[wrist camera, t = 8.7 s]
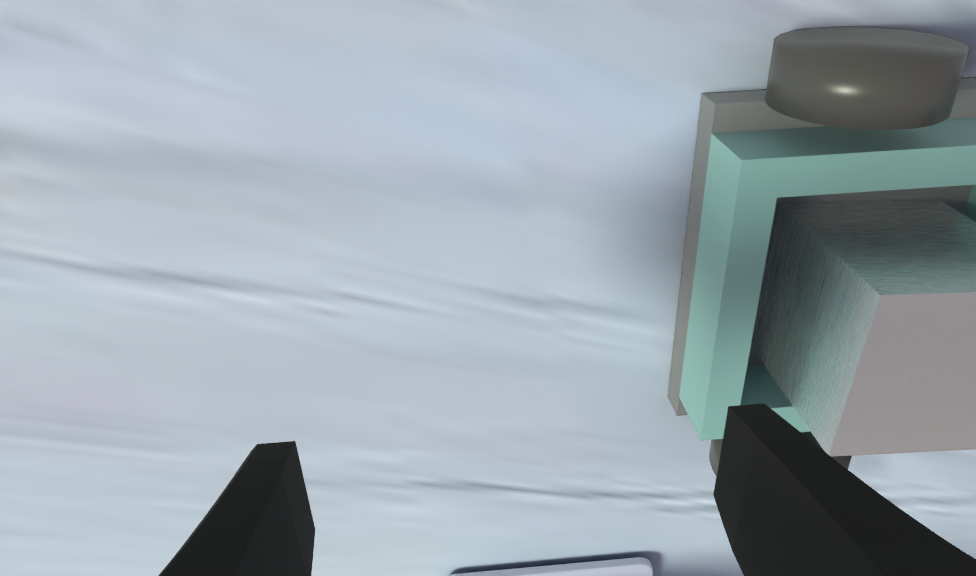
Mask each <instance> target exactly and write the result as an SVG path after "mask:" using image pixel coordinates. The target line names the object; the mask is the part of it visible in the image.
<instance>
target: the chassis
mask: <svg viewBox="0 0 976 576" xmlns="http://www.w3.org/2000/svg"><path fill="white" fill-rule="evenodd" d="M968 52H969V48H968V46H967V45H965V44H964V43H962V42H960V41H957V40H955V39H952V38H948V37H944V36H940V35H935V34H930V33H925V32H918V31H910V30H902V29H891V28H876V27H822V28H810V29H802V30H795V31H790V32H786V33H783V34H781V35H779V36H777V37H776V38H775V39H774V44H773V51H772V57H771V63H770V70H769V76H768V82H767V89H766V90H753V91H736V92H719V93H702V94H701V103H700V112H699V121H698V130H697V139H696V148H695V157H694V166H693V175H692V184H691V192H690V201H689V210H688V219H687V228H686V237H685V246H684V255H683V264H682V273H681V282H680V291H679V300H678V309H677V318H676V326H675V335H674V344H673V353H672V362H671V371H670V380H669V389H668V398H669V400H670V402H671V404H672V406H673V408H674V411H675V413H676V415H677V416H681V415H688V416H689V418H690V420H691V422H692V424H693V426H694V428H695V430H696V432H697V434H698V436H699V438H700V440H711V446H710V453H709V457H710V463H711V466H712V469H713V471H714V473H715V475H716V476H717V471H718V465H719V459H720V453H721V447H722V441H723V435H724V429H725V423H726V417H727V411H728V406H738V405H750V404H762V403H764V404H765V405H767V406H768V407H769V408H771V409H772V410H773V411H775V412H776V413H777V414H778V415H780V416H781V417H782V418H783V419H785V420H786V421H787V422H788V423H790V424H791V425H792V426H793V427H795V428H796V429H797V430H798V431H800V432H801V433H802V434H803V435H805V436H806V437H807V438H808V439H809V440H811V441H812V442H813V443H814V444H816V445H817V446H818V447H819V448H821V449H822V450H823V448H822V447H821V446H820V444H819V443H818V441H817V440H816V438H815V437H814V436H813V434H812V433H811V431H810V430H809V428H808V427H807V426H806V424H805V423H804V421H803V420H802V418H801V417H800V416H799V414H798V413H797V411H796V410H795V408H794V407H793V406H792V404H791V403H790V401H789V400H788V398H787V397H786V396H785V394H784V393H783V391H782V390H781V388H780V387H779V386H778V384H777V383H776V381H775V380H774V378H773V377H772V376H771V374H770V373H769V371H768V370H767V368H766V367H765V366H764V364H763V363H762V361H761V360H760V358H759V357H758V356H757V354H756V353H755V351H754V350H753V348H752V347H751V342H752V336H753V330H754V325H755V319H756V313H757V308H758V302H759V296H760V291H761V285H762V279H763V274H764V268H765V263H766V257H767V251H768V246H769V241H770V237H771V232H772V228H773V223H774V219H775V215H776V210H777V206H778V202H796V201H838V200H881V199H923V198H938V199H939V200H941V201H942V202H944V203H946V204H947V205H949V206H950V207H952V208H954V209H955V210H957V211H958V212H960V213H962V214H963V215H965V216H966V217H968V218H970V219H971V220H973V221H974V222H976V78H961V76H962V73H963V70H964V66H965V63H966V59H967V56H968ZM823 451H824V450H823ZM824 452H825V451H824ZM831 457H832V458H833V459H834V460H836V461H837V462H838V463H840V464H841V465H842V466H843V467H845V468H846V469H847V470H848V467H849V464H850V460H851V457H852V455H851V456H831Z"/></svg>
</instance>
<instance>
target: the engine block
mask: <svg viewBox="0 0 976 576" xmlns="http://www.w3.org/2000/svg"><path fill="white" fill-rule="evenodd" d="M751 347H752V348H753V350H754V351H755V353H756V354H757V356H758V357H759V358H760V360H761V361H762V363H763V364H764V366H765V367H766V368H767V370H768V371H769V373H770V374H771V376H772V377H773V378H774V380H775V381H776V383H777V384H778V386H779V387H780V388H781V390H782V391H783V393H784V394H785V396H786V397H787V398H788V400H789V401H790V403H791V404H792V406H793V407H794V408H795V410H796V411H797V413H798V414H799V416H800V417H801V418H802V420H803V421H804V423H805V424H806V426H807V427H808V428H809V430H810V431H811V433H812V434H813V436H814V437H815V438H816V440H817V441H818V443H819V444H820V446H821V447H822V448H823V450H824V451H825V452H826V453H827V454H828V455H829V456H851V455H871V454H891V453H911V452H930V451H950V450H970V449H976V222H974V221H973V220H971V219H970V218H968V217H966V216H965V215H963V214H962V213H960V212H958V211H957V210H955V209H954V208H952V207H950V206H949V205H947V204H946V203H944V202H942V201H941V200H939V199H938V198H923V199H881V200H838V201H796V202H778V206H777V210H776V215H775V219H774V223H773V228H772V232H771V237H770V241H769V246H768V251H767V257H766V263H765V268H764V274H763V279H762V285H761V291H760V296H759V302H758V308H757V313H756V319H755V325H754V330H753V336H752V342H751Z"/></svg>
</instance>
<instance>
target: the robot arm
mask: <svg viewBox="0 0 976 576" xmlns="http://www.w3.org/2000/svg"><path fill="white" fill-rule="evenodd" d="M714 498H715V501H716V504H717V507H718V510H719V513H720V516H721V519H722V522H723V525H724V528H725V531H726V534H727V537H728V539H729V542H730V545H731V548H732V551H733V553H734V555H735V557H736V559H737V562H738V564H739V566H740V568H741V570H742V572H743V574H744V576H976V559H974V558H973V557H971V556H969V555H968V554H966V553H964V552H963V551H961V550H960V549H958V548H957V547H955V546H954V545H952V544H950V543H949V542H947V541H946V540H944V539H943V538H941V537H940V536H938V535H937V534H935V533H934V532H932V531H931V530H930V529H928V528H927V527H925V526H924V525H922V524H921V523H919V522H918V521H917V520H915V519H914V518H912V517H911V516H909V515H908V514H906V513H905V512H904V511H902V510H901V509H899V508H898V507H897V506H895V505H894V504H892V503H891V502H890V501H888V500H887V499H886V498H884V497H883V496H881V495H880V494H879V493H877V492H876V491H875V490H873V489H872V488H871V487H869V486H868V485H867V484H865V483H864V482H863V481H861V480H860V479H859V478H858V477H856V476H855V475H854V474H852V473H851V472H850V471H848V470H847V469H846V468H845V467H843V466H842V465H841V464H840V463H838V462H837V461H836V460H834V459H833V458H832V457H831V456H829V455H828V454H827V453H826V452H824V451H823V450H822V449H821V448H819V447H818V446H817V445H816V444H814V443H813V442H812V441H811V440H809V439H808V438H807V437H806V436H805V435H803V434H802V433H801V432H800V431H798V430H797V429H796V428H795V427H793V426H792V425H791V424H790V423H788V422H787V421H786V420H785V419H783V418H782V417H781V416H780V415H778V414H777V413H776V412H775V411H773V410H772V409H771V408H769V407H768V406H767V405H765V404H764V403H762V404H750V405H738V406H728V411H727V417H726V423H725V429H724V435H723V441H722V447H721V453H720V459H719V465H718V471H717V477H716V483H715V489H714ZM314 536H315V527H314V523H313V518H312V514H311V509H310V505H309V500H308V496H307V492H306V487H305V483H304V478H303V474H302V469H301V465H300V460H299V456H298V452H297V447H296V443H295V441H292V442H279V443H267V444H257V445H256V446H255V447H254V448H253V450H252V451H251V452H250V454H249V455H248V456H247V458H246V459H245V461H244V462H243V464H242V465H241V467H240V468H239V470H238V471H237V472H236V474H235V475H234V477H233V478H232V480H231V481H230V483H229V484H228V485H227V487H226V488H225V490H224V491H223V492H222V494H221V495H220V497H219V498H218V499H217V501H216V502H215V504H214V505H213V506H212V508H211V509H210V510H209V512H208V513H207V515H206V516H205V517H204V518H203V520H202V521H201V522H200V524H199V525H198V526H197V528H196V529H195V530H194V532H193V533H192V534H191V536H190V537H189V538H188V540H187V541H186V542H185V543H184V545H183V546H182V547H181V549H180V550H179V551H178V553H177V554H176V555H175V556H174V558H173V559H172V560H171V561H170V562H169V564H168V565H167V566H166V567H165V568H164V570H163V571H162V572H161V573H160V574H159V576H311V571H312V560H313V548H314ZM450 576H653V568H652V565H651V562H650V561H649V560H648V559H646V558H643V557H636V558H625V559H614V560H603V561H592V562H581V563H570V564H559V565H548V566H537V567H526V568H515V569H504V570H493V571H482V572H471V573H460V574H453V575H450Z"/></svg>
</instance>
